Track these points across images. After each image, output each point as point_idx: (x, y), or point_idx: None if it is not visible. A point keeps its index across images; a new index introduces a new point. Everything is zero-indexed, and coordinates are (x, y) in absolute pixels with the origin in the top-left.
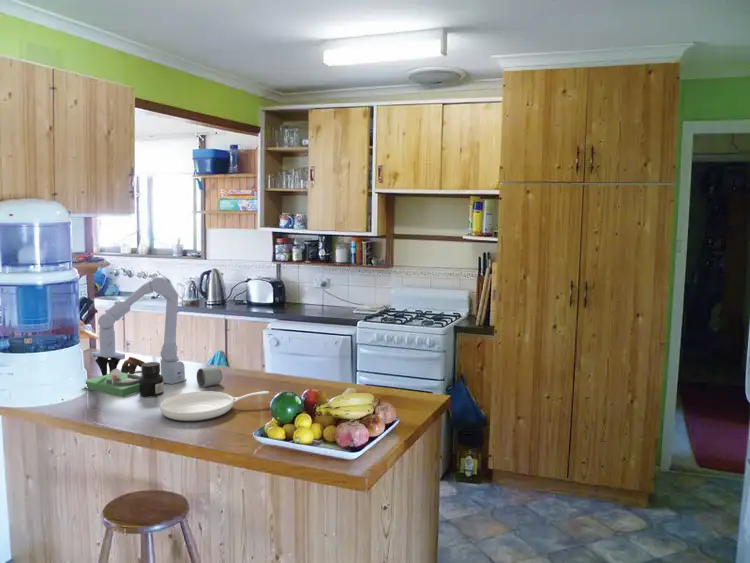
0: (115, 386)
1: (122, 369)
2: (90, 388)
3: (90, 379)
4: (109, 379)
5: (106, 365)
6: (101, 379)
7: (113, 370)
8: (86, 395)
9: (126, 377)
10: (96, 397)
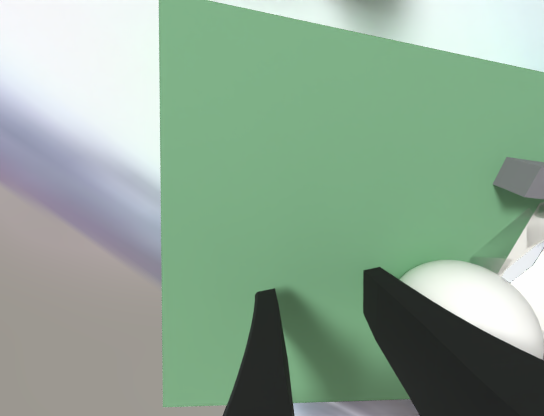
0: None
1: None
2: None
3: (192, 369)
4: (357, 306)
5: (287, 396)
6: (286, 333)
7: None
8: (323, 403)
9: (485, 197)
10: None
